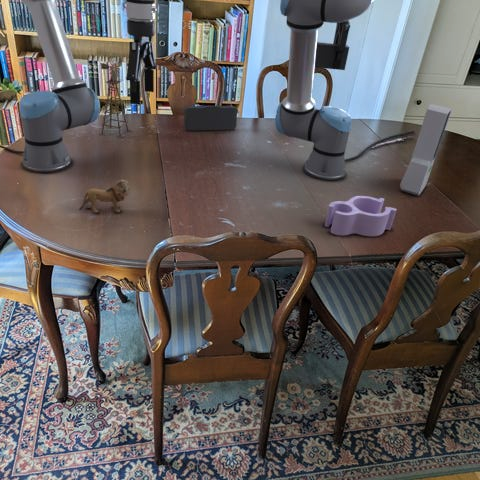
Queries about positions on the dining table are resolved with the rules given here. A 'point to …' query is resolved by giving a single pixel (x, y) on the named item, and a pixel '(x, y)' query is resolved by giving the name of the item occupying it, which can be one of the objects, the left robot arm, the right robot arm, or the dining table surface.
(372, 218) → the clip
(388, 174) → the dining table surface
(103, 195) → the lion figurine
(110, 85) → the miniature windmill
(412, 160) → the electronic device
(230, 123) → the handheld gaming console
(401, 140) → the sword
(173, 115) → the dining table surface
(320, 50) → the bar
